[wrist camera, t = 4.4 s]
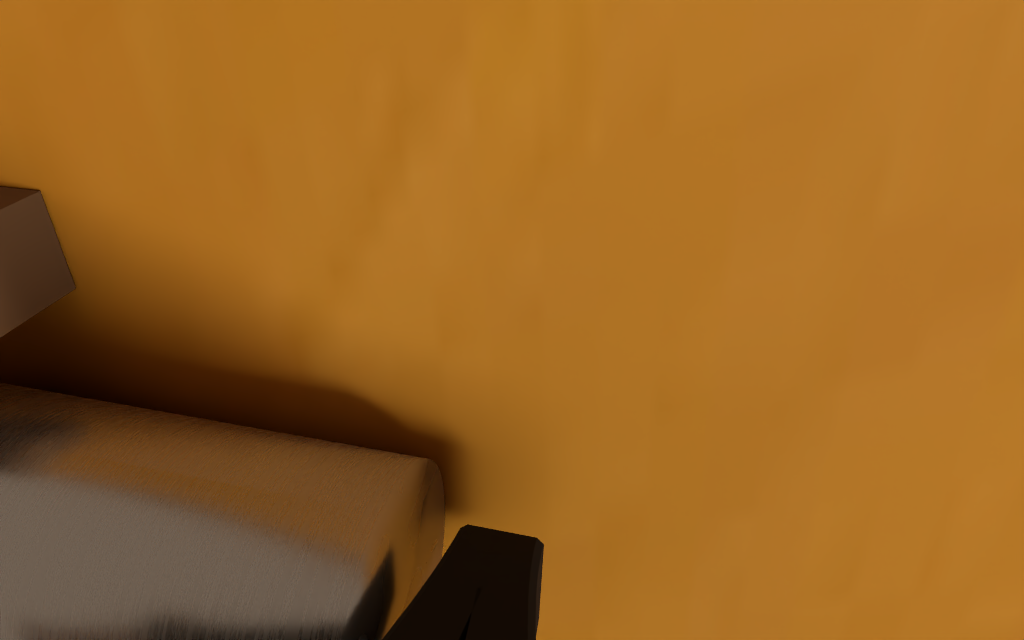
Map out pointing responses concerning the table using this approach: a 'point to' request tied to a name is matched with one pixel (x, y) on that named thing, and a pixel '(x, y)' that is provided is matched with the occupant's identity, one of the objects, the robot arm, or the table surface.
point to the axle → (202, 527)
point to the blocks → (28, 258)
